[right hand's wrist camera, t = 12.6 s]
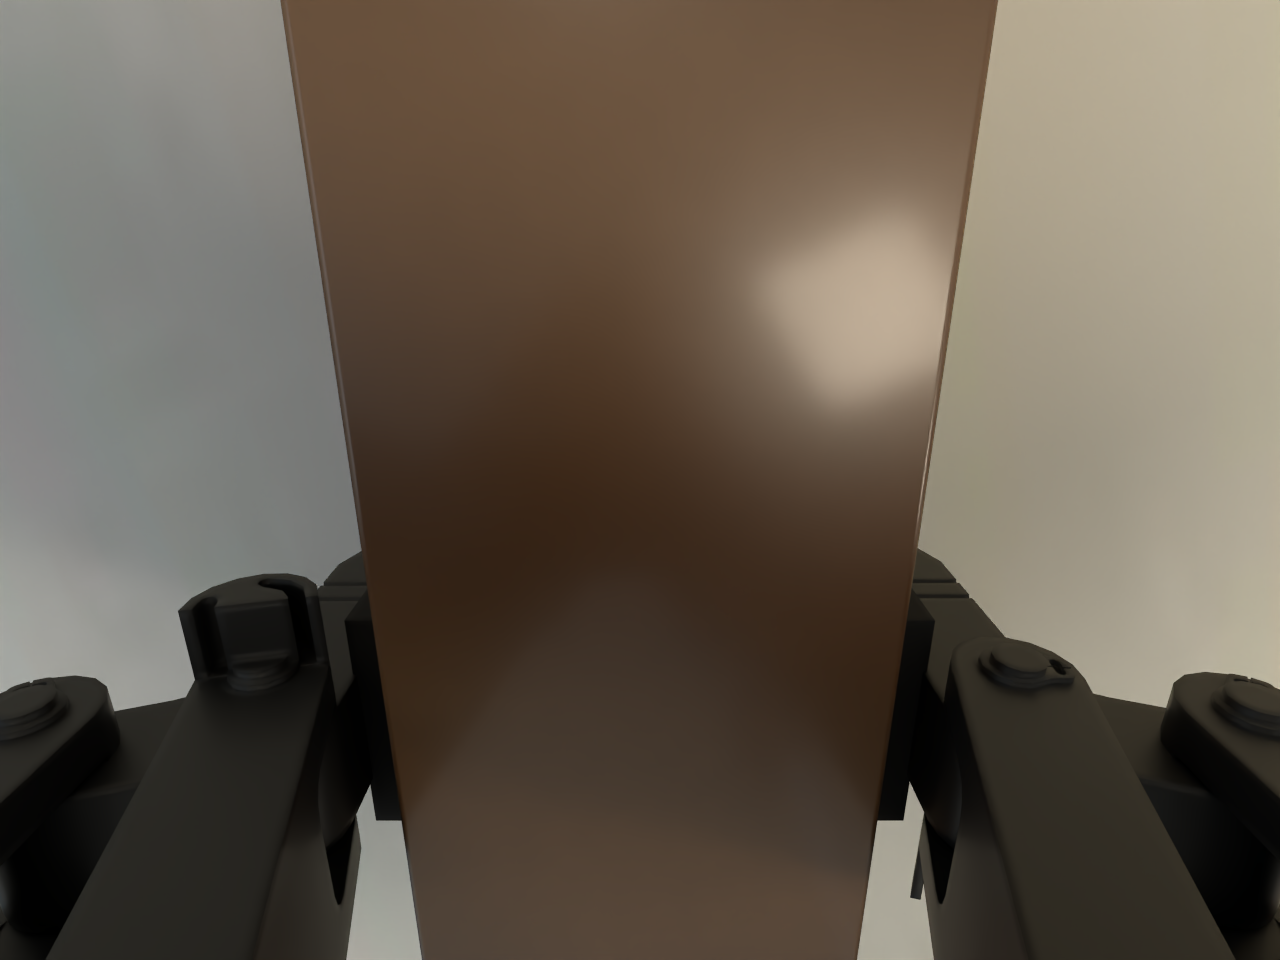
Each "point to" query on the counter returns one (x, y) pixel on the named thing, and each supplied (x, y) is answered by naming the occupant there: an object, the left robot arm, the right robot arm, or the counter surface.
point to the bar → (639, 440)
